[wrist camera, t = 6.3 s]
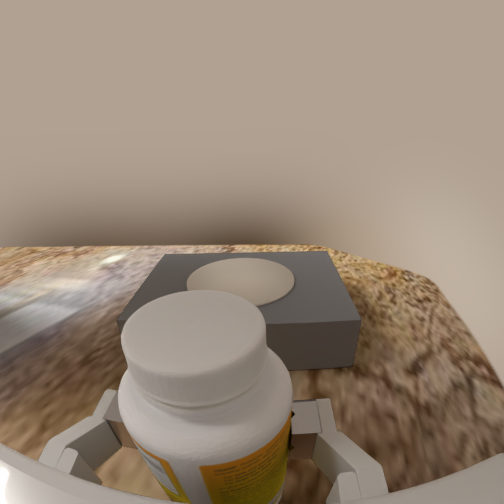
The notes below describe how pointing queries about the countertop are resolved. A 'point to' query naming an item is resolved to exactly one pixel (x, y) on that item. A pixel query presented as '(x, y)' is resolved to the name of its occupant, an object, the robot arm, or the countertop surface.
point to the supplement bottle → (207, 398)
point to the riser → (271, 300)
